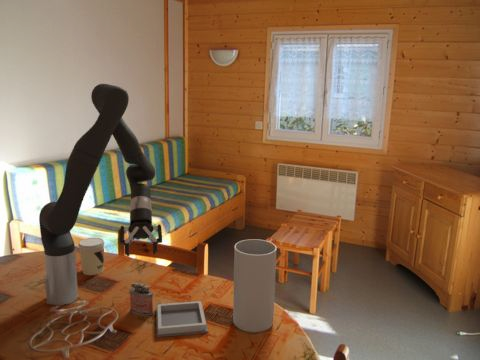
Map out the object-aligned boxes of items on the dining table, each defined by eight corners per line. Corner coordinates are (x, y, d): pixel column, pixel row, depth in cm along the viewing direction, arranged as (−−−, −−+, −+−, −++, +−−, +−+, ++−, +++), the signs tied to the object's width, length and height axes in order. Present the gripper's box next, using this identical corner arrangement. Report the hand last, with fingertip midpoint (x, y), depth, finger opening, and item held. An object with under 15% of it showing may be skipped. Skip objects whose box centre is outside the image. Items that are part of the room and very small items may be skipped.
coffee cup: (101, 276, 164) (99, 246, 161) (76, 275, 164) (74, 245, 161) (109, 266, 173) (107, 237, 170) (85, 265, 173) (83, 236, 170)
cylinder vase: (233, 311, 142) (235, 238, 136) (272, 312, 142) (275, 239, 136) (231, 332, 130) (233, 254, 124) (274, 334, 130) (277, 256, 124)
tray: (156, 337, 127) (156, 329, 126) (156, 310, 141) (155, 303, 141) (208, 332, 130) (208, 325, 129) (202, 307, 144) (202, 300, 144)
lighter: (155, 312, 140) (154, 283, 138) (150, 317, 137) (149, 288, 135) (133, 307, 143) (132, 279, 140) (127, 312, 140) (126, 284, 137)
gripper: (119, 207, 151) (118, 251, 142) (161, 206, 153) (162, 249, 145) (121, 217, 157) (120, 260, 149) (161, 215, 160) (162, 257, 151)
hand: (141, 254), depth 147 cm, fingers open, 8 cm apart
